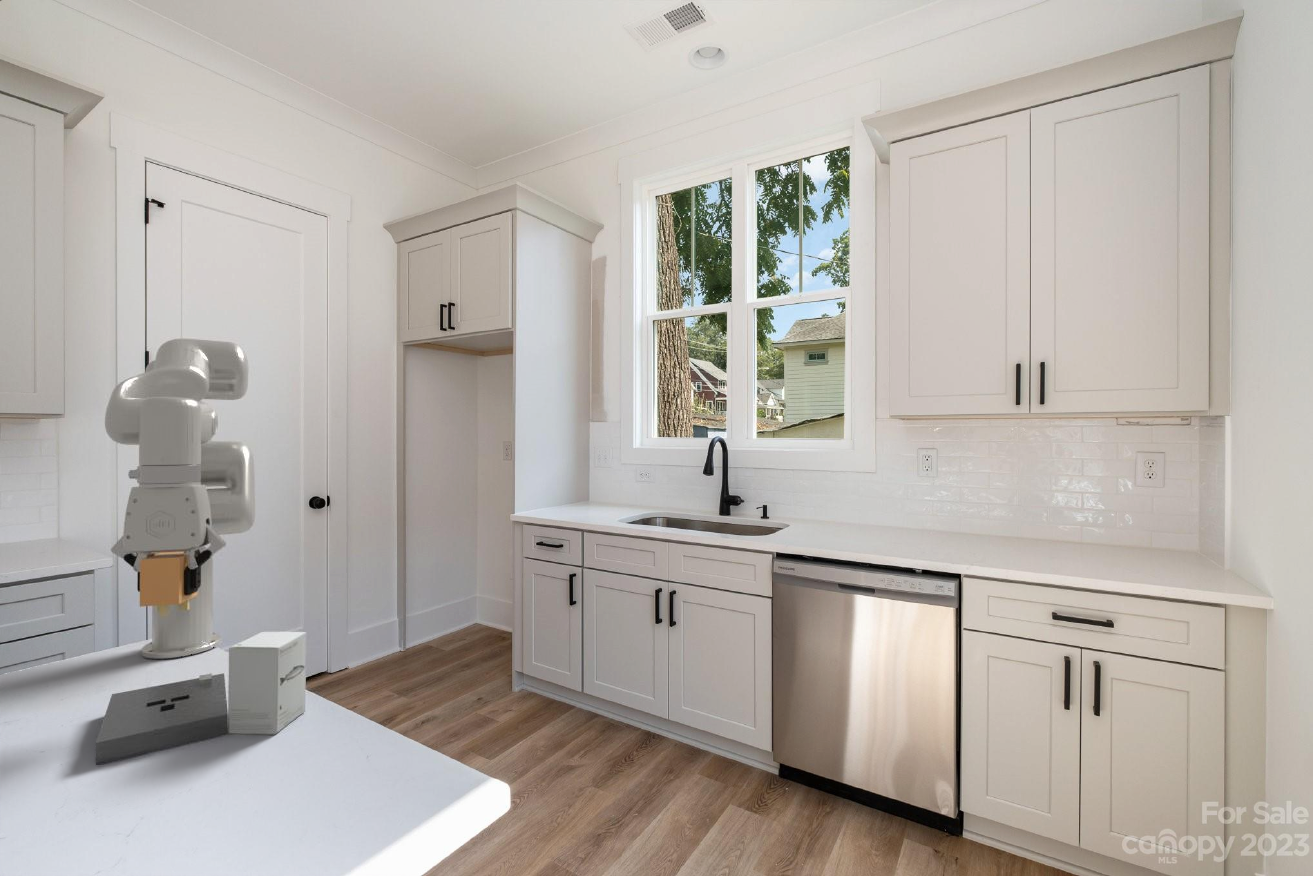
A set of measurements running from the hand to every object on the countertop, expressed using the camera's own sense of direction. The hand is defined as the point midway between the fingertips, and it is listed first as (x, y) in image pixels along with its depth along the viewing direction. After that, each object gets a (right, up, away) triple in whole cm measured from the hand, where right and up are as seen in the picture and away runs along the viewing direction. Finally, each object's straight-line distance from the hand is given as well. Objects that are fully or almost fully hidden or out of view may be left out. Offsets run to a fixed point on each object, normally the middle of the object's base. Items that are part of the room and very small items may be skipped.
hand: (169, 593), depth 94 cm
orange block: (0, -3, 0) cm, 3 cm away
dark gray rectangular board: (+3, -18, -4) cm, 19 cm away
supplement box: (+17, -19, -3) cm, 26 cm away
